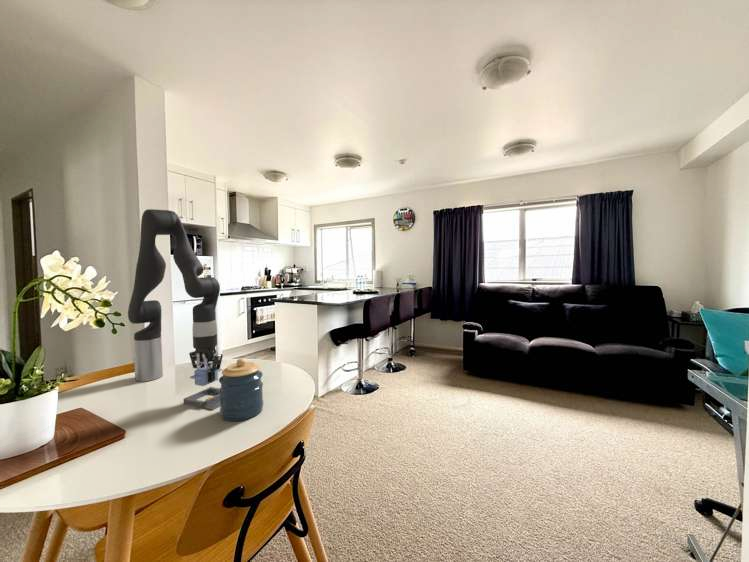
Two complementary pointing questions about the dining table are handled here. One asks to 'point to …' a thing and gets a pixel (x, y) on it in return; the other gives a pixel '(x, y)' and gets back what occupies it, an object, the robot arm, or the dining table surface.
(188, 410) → the dining table surface
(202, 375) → the block
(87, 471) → the dining table surface
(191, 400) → the chassis plate
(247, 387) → the canister
